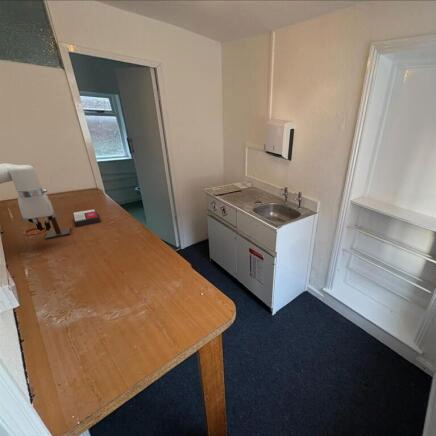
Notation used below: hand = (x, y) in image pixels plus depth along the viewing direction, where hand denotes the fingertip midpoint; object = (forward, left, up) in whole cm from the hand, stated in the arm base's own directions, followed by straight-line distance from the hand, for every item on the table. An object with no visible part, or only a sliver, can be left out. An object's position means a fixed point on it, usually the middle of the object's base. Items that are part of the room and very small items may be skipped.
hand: (45, 229), depth 111 cm
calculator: (+14, +28, -9) cm, 32 cm away
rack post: (+2, +14, -9) cm, 16 cm away
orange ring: (-3, 0, 0) cm, 3 cm away
